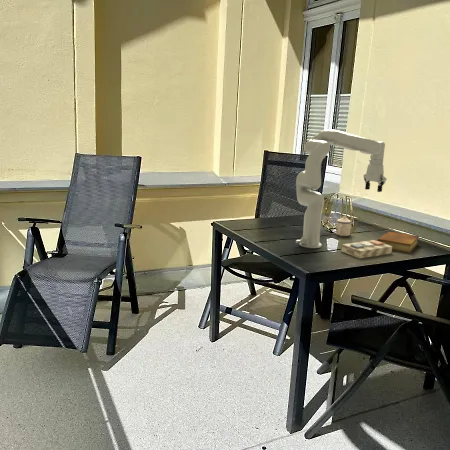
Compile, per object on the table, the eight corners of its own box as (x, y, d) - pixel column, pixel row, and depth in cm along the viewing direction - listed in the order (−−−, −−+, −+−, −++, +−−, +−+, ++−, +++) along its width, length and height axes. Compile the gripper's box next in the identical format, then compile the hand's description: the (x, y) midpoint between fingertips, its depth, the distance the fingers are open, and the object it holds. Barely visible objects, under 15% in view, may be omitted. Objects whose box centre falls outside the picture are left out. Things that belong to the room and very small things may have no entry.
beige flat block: (359, 258, 235) (360, 251, 234) (341, 251, 247) (342, 244, 246) (391, 253, 246) (392, 246, 245) (372, 246, 258) (373, 240, 257)
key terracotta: (376, 248, 246) (377, 243, 246) (370, 245, 251) (370, 241, 250) (383, 247, 249) (383, 242, 248) (376, 244, 253) (377, 240, 252)
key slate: (356, 251, 240) (357, 246, 239) (350, 248, 244) (350, 244, 243) (363, 250, 242) (364, 245, 241) (356, 247, 246) (357, 243, 245)
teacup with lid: (337, 231, 291) (339, 214, 288) (351, 234, 286) (353, 216, 283) (332, 235, 280) (333, 217, 278) (346, 237, 276) (348, 219, 273)
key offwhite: (366, 249, 243) (367, 245, 242) (360, 247, 247) (360, 242, 247) (373, 248, 245) (374, 244, 245) (366, 246, 250) (367, 242, 249)
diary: (385, 239, 277) (387, 231, 275) (417, 245, 267) (419, 236, 266) (376, 247, 258) (377, 238, 257) (410, 253, 248) (411, 243, 247)
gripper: (361, 161, 270) (358, 188, 274) (383, 163, 256) (379, 193, 260) (369, 160, 274) (367, 188, 278) (392, 163, 259) (388, 192, 263)
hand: (373, 190), depth 269 cm, fingers open, 9 cm apart
